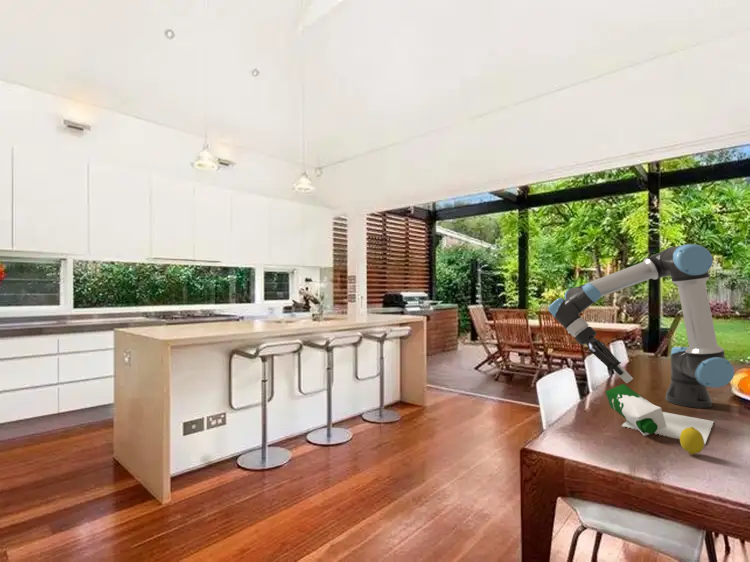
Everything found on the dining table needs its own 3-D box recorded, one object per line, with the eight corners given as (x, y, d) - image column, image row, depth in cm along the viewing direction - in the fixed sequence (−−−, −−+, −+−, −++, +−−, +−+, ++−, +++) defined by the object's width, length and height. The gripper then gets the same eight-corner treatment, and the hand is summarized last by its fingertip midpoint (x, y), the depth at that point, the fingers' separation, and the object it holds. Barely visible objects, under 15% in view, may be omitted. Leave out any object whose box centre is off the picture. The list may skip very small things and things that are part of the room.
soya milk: (602, 390, 149) (641, 419, 130) (625, 380, 149) (668, 408, 130) (608, 410, 151) (648, 442, 132) (631, 400, 151) (674, 431, 132)
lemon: (675, 452, 121) (675, 425, 121) (687, 449, 123) (687, 422, 123) (696, 460, 116) (696, 431, 116) (708, 456, 118) (708, 428, 118)
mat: (713, 422, 147) (713, 421, 147) (705, 444, 127) (705, 443, 127) (639, 408, 163) (639, 407, 163) (621, 426, 142) (621, 425, 142)
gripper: (580, 336, 171) (626, 383, 159) (569, 339, 161) (617, 390, 150) (594, 324, 167) (642, 372, 156) (583, 326, 158) (634, 378, 146)
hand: (629, 381), depth 153 cm, fingers closed
